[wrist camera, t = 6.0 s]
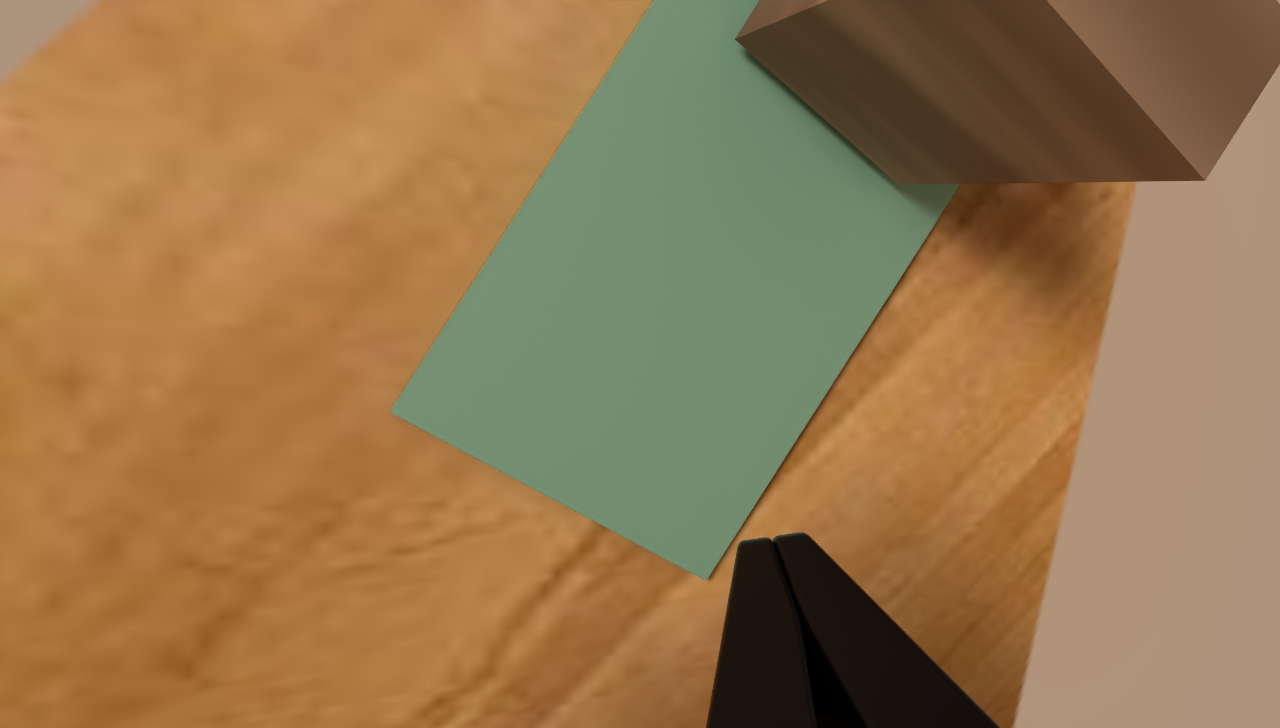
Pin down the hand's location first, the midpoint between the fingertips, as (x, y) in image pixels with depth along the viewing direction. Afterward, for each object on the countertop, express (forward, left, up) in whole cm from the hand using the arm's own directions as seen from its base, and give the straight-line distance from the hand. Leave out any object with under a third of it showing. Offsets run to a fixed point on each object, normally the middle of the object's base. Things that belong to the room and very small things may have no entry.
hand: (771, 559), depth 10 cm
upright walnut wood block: (+10, -2, -11) cm, 15 cm away
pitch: (+7, -2, -11) cm, 13 cm away
